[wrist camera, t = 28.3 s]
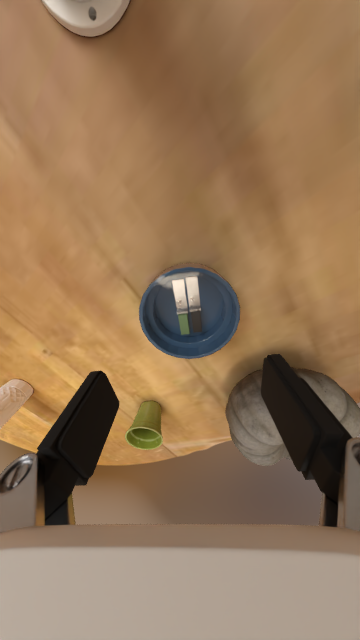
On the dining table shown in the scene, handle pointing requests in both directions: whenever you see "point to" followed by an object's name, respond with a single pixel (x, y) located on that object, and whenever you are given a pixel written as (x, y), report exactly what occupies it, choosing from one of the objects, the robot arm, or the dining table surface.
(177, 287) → the green knife
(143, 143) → the dining table surface
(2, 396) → the white cup
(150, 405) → the plant pot
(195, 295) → the black knife
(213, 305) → the bowl
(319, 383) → the gourd
